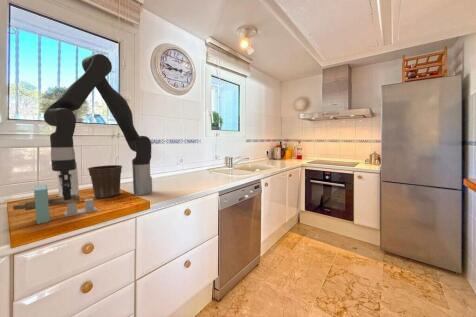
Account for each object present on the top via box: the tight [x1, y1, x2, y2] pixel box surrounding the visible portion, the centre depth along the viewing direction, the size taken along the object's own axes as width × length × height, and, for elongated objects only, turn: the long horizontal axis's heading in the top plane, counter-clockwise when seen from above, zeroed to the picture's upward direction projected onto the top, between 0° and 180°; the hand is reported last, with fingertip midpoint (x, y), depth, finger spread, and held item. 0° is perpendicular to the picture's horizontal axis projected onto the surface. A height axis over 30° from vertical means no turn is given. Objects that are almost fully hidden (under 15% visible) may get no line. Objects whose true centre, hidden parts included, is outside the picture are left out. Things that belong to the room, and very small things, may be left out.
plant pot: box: [87, 164, 123, 199], centre depth 115 cm, size 16×16×16 cm
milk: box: [56, 161, 80, 197], centre depth 110 cm, size 6×6×22 cm
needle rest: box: [63, 198, 98, 218], centre depth 88 cm, size 11×4×5 cm, turn 133°
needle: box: [12, 193, 81, 211], centre depth 81 cm, size 19×3×3 cm, turn 133°
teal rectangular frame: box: [33, 184, 51, 225], centre depth 80 cm, size 4×9×13 cm, turn 42°
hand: (66, 197), depth 85 cm, fingers open, 8 cm apart
